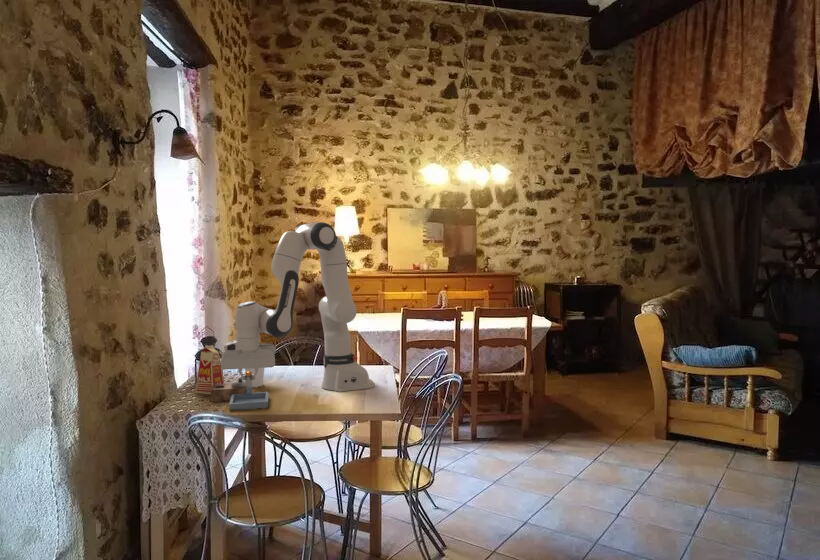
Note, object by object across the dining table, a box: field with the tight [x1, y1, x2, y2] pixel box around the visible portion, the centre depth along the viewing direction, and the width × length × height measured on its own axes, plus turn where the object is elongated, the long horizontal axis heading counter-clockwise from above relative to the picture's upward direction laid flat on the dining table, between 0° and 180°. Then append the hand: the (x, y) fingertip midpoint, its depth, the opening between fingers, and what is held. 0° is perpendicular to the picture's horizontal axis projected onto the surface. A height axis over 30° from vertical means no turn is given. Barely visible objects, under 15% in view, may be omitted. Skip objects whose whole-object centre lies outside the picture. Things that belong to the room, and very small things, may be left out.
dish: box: [228, 391, 270, 412], centre depth 231 cm, size 14×14×2 cm
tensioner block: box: [210, 377, 246, 402], centre depth 241 cm, size 14×8×8 cm, turn 102°
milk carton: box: [194, 344, 225, 395], centre depth 250 cm, size 9×9×20 cm
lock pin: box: [244, 371, 253, 396], centre depth 231 cm, size 2×2×9 cm
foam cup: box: [244, 368, 265, 388], centre depth 259 cm, size 10×9×13 cm
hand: (248, 379), depth 231 cm, fingers closed on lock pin, 2 cm apart
